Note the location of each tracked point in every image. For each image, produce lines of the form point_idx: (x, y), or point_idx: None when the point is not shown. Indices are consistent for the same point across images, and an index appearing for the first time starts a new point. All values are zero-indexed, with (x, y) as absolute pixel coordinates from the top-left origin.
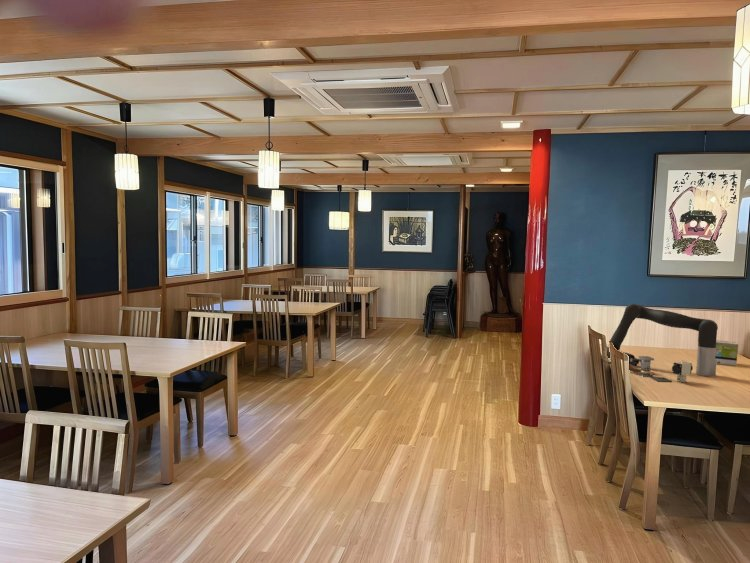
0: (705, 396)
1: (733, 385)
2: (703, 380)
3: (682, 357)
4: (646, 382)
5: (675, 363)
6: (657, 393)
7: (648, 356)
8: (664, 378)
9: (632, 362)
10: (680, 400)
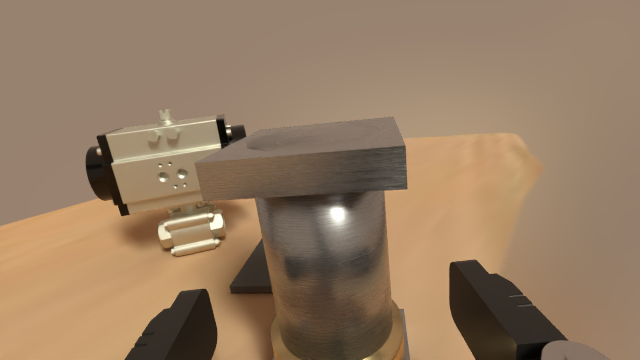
0: None
1: (20, 229)
2: (10, 274)
3: None
4: (447, 219)
5: (224, 120)
6: (458, 154)
7: (218, 156)
8: (256, 266)
9: (536, 325)
10: (413, 141)
